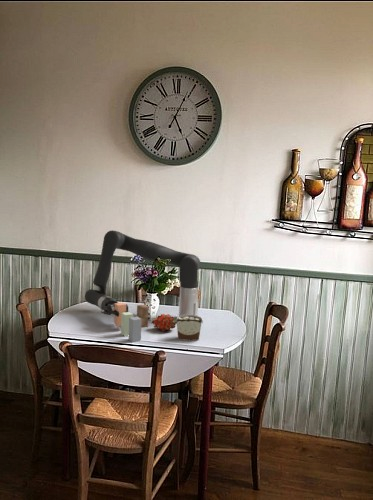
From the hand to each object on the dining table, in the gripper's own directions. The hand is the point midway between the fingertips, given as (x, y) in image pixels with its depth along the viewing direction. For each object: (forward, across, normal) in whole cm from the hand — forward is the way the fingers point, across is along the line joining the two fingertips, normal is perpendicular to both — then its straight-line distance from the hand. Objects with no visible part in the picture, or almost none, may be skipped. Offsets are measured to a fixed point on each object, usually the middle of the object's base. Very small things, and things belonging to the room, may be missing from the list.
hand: (122, 313), depth 213 cm
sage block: (+5, 0, +8) cm, 10 cm away
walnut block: (-3, +12, +9) cm, 15 cm away
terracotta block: (-3, 0, +6) cm, 7 cm away
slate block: (+13, 0, +8) cm, 15 cm away
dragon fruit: (+7, +18, +9) cm, 21 cm away
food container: (+20, +23, +9) cm, 32 cm away
